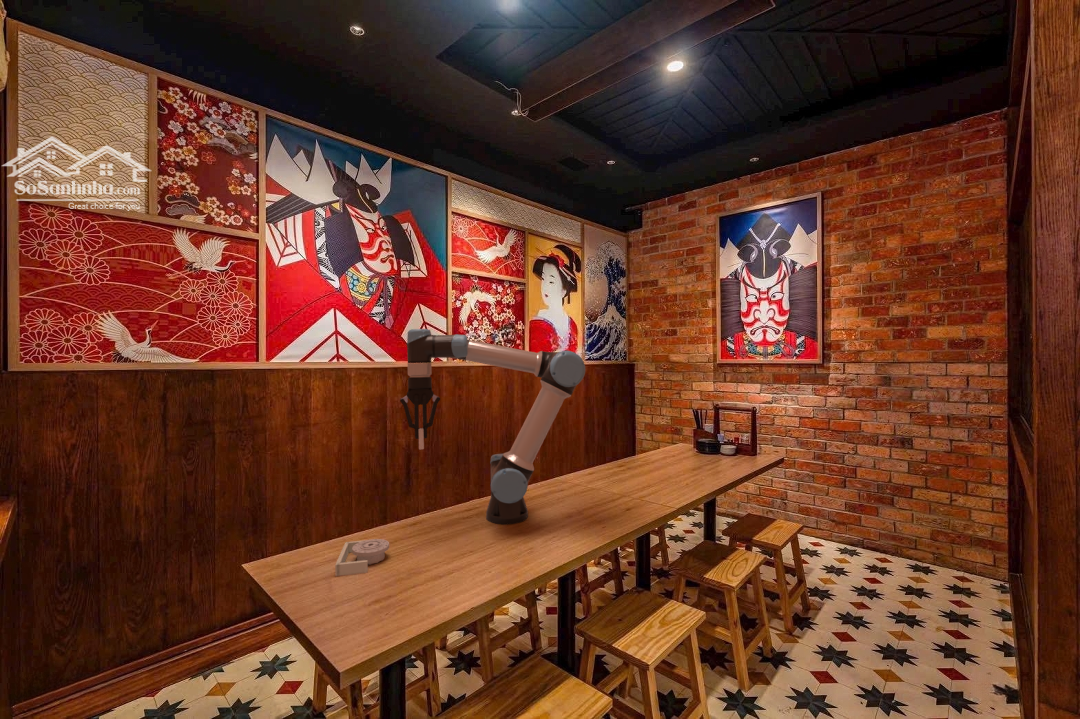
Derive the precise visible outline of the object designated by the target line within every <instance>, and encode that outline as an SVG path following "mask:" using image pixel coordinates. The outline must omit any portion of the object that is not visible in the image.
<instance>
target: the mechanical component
mask: <svg viewBox="0 0 1080 719" xmlns="http://www.w3.org/2000/svg"><path fill="white" fill-rule="evenodd" d="M361 541H362V540H361ZM389 549H390V542H389V541H388V540H386V539H383V538H372V539H365V541H362V542H359V543H357V544H355V545H354V546H353V547H352V552H351V554H353V556H355V557H356V561H364V560H368V566H369V565H370V566H371V565H373V564H378V563H379V562H380V561H382V562H383V560H384V559H385V557H386V556H385V552H387V551H388V550H389Z"/></svg>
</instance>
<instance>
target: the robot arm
mask: <svg viewBox="0 0 1080 719" xmlns="http://www.w3.org/2000/svg"><path fill="white" fill-rule="evenodd" d="M406 336H407V338H406V340H407V342H406V351H407V355H406V356H407V376H409V377H408V378H407V393H406V395H405V396H404V397H402V398H400V399H399V402H400V403H401V404H402V406H403V409H404V412H405V415H406V419H407V423H408V427H409V428H410V429H411V428H412V429H414V438H415V440H418V450H424V449H425V442H424V440H425V439H427V438H428V428H431V427H432V426H433V425H434V420H435V416H436V411H437V407H438V403H439V402H440V401H441V397H440V396H438V395H436V394H434V392H433V381H432V377H431V375H432V374H433V373H432V359H436V358H437V359H441V358H443V359H447V358H448V359H449V358H450V359H455V360H456V359H457V360H462V361H465V362H467V361H468V362H471V363H478V364H482V365H487V366H494V367H499V368H502V369H510V370H514V371H520V372H524V373H531V374H533V375H534V376H535V377H536V378H541V379H540V381H539V382H540V384H541V388H540V390H539V393H538V395H537V397H536V398H535V401H534V402H533V405H532V407H530V408H531V409H530V411H529V412H528V415H527V416H526V418H525V420H524V422H523V424H522V426H521V428H520V430H519V432H518V434H517V436H516V438H515V440H514V442H513V443H512V446H511V448H510V450H509V451H506V452H504V453H496V454H492V455H491V457H490V461H489V464H490V483H489V484H490V499H489V502H488V505H487V509H486V511H485V512H486V513H485V515H486V516H485V518H486V520H487V521H488V522H489V523H492V524H496V525H497V524H498V525H514V524H520V523H522V522H524V521H526V520H527V519H528V517H529V510H528V507H527V504H526V501H525V498H524V496H526V493H527V490H528V485H529V482H530V480H531V477H532V475H533V473H534V471H535V467H534V464H533V463H534V461H535V459H536V457H537V455H538V453H539V451H540V449H541V446H542V445H543V443H544V440H545V439H546V437H547V435H548V433H549V432H550V429H551V427H552V425H553V423H554V421H555V419H556V418H557V415H558V413H559V411H560V409H561V407H562V405H563V403H564V401H565V399H568V398H570V397H572V395H573V393H574V391H575V389H576V387H577V385H579V384H580V383H581V382H582V381H583V379H584V377H585V374H586V364H585V362H584V360H583V358H582V357H581V356H580V355H579V354H578V353H576V352H575V351H572V350H562V351H550V352H549V351H544V350H540V351H538V352H535V351H529V350H523V349H518V348H513V347H508V346H503V345H498V344H491V343H486V342H481V341H476V340H471V339H468V336H467V335H465V334H457V333H456V334H439V335H437V334H432V332H431V330H430V329H428V328H413V329H412V328H411V329H409V330H408V331H407V335H406ZM431 399H432V406H431V411H430V416H429V420H428V417H427V416H428V414H427V409H428V408H427V405H428V403H429V402H430V400H431ZM409 401H410V403H412V404H413V405H414V423H413V420H412V417H411V413H410V410H409V409H410V408H409V405H408V402H409ZM419 405H422V406H421V407H422V427H419V424H420V423H419V420H420V419H419V414H420V413H419Z"/></svg>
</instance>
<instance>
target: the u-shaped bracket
mask: <svg viewBox="0 0 1080 719" xmlns="http://www.w3.org/2000/svg"><path fill="white" fill-rule="evenodd" d="M365 540H366V539H365ZM365 540H364V539H363V540H354V541H353V540H352V541H346V542H345V543H344V544H343V546H342V549H341V550H340V551H341V552H340V554H339V556H338V558H337V560H336V563H335V565H334V567H335V570H334V573H335V574H334V575H335V577H340V576H341V577H342V576H351V575H358V574H366V573H367V574H368V571H369V569H368V566H369V564H368V560H364V561H357V560H356V561H355V560H354V561H347V558H348V555H349V553H351V554H352V547H353V546H354V545H355V544H357V543H359V542H362V541H365Z"/></svg>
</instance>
